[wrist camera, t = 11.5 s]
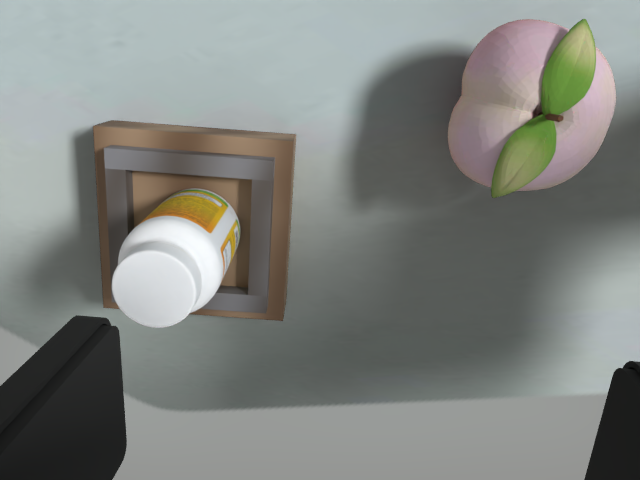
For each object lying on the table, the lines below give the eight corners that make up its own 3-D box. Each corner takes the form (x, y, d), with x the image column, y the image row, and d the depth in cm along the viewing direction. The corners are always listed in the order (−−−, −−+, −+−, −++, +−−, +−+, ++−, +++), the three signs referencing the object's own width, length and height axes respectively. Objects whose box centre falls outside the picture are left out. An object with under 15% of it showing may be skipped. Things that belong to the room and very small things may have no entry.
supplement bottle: (139, 211, 34) (71, 268, 25) (213, 171, 34) (169, 215, 24) (186, 281, 36) (137, 359, 27) (257, 245, 35) (232, 312, 26)
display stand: (296, 134, 36) (292, 144, 32) (286, 301, 40) (281, 329, 36) (111, 120, 36) (84, 128, 32) (119, 289, 39) (96, 315, 35)
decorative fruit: (538, 186, 37) (611, 232, 27) (419, 160, 36) (452, 197, 27) (590, 41, 34) (693, 35, 24) (462, 9, 33) (516, -9, 24)
